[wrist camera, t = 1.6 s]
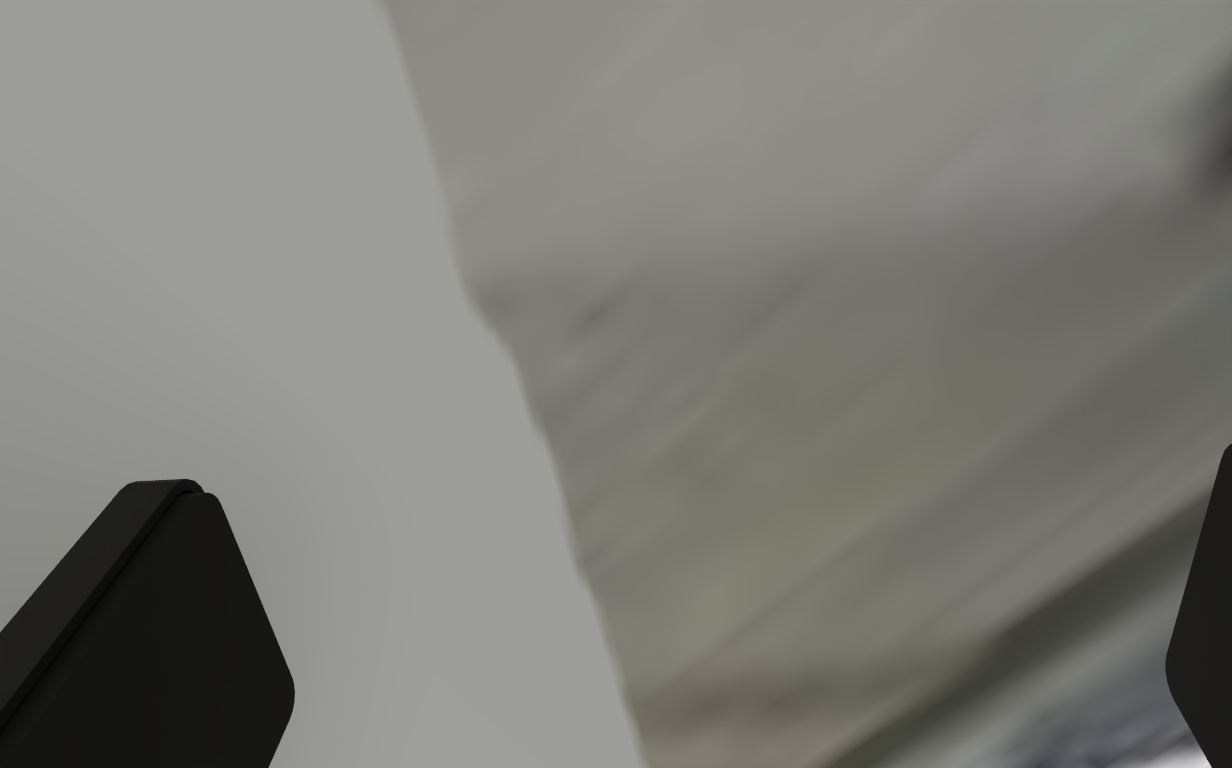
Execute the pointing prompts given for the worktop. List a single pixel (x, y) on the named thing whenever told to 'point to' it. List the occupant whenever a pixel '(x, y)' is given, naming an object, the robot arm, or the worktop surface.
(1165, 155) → the worktop surface
